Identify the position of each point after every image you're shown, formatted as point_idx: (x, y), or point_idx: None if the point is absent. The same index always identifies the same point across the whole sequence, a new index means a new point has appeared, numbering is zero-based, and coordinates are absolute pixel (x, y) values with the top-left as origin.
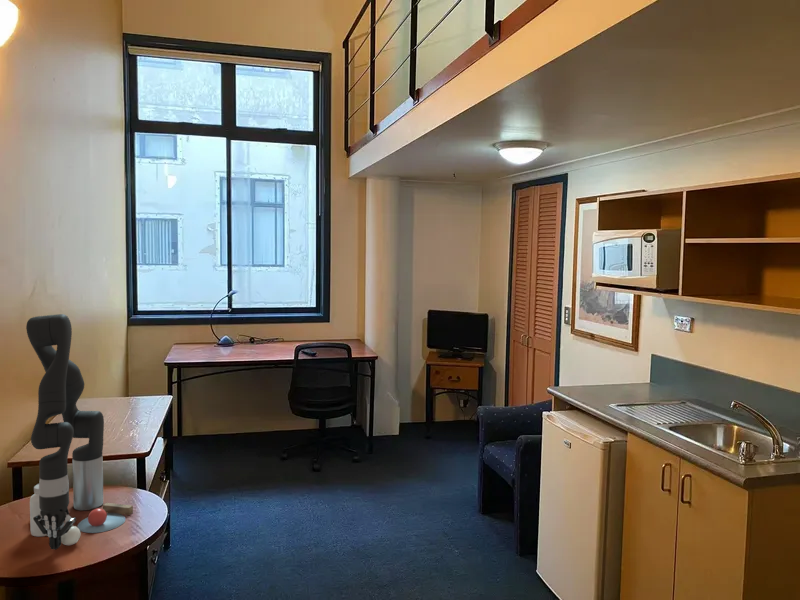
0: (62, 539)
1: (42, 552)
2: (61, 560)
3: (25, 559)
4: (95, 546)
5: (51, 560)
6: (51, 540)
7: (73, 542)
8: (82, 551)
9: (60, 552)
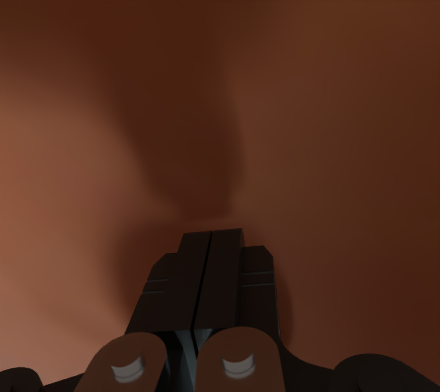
0: None
1: (359, 203)
2: (47, 149)
3: (432, 22)
4: None
5: (133, 115)
6: (216, 295)
7: None
8: (44, 312)
9: None
